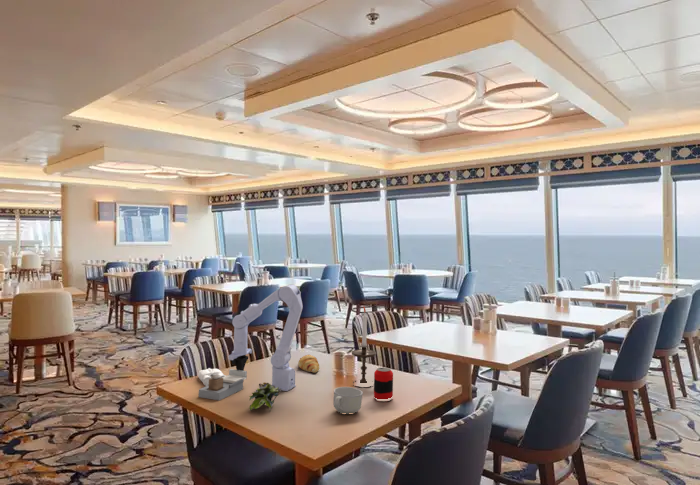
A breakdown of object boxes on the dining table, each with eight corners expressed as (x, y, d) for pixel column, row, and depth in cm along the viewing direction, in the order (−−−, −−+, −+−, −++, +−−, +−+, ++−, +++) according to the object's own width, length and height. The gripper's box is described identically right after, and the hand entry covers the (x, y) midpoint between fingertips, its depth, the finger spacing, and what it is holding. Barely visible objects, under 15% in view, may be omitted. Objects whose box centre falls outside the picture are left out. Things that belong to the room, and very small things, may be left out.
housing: (243, 389, 205) (243, 379, 205) (219, 400, 190) (220, 389, 190) (222, 385, 209) (222, 376, 209) (197, 396, 194) (198, 386, 194)
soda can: (386, 395, 200) (387, 366, 200) (396, 400, 194) (396, 370, 194) (370, 397, 197) (371, 368, 197) (379, 403, 190) (380, 372, 190)
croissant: (321, 380, 232) (329, 365, 233) (304, 373, 227) (312, 357, 229) (305, 368, 251) (312, 354, 252) (289, 361, 247) (296, 347, 248)
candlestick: (346, 383, 216) (347, 305, 216) (365, 379, 222) (366, 303, 222) (361, 389, 207) (363, 308, 207) (380, 385, 213) (382, 306, 213)
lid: (246, 378, 209) (246, 371, 209) (235, 383, 202) (235, 375, 202) (230, 376, 212) (230, 368, 212) (219, 381, 205) (219, 373, 205)
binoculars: (203, 387, 207) (203, 376, 207) (195, 378, 221) (195, 367, 221) (227, 384, 212) (228, 373, 212) (218, 375, 226) (218, 365, 226)
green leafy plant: (263, 419, 186) (276, 389, 192) (276, 422, 177) (291, 391, 183) (239, 406, 181) (254, 376, 187) (252, 409, 173) (267, 377, 178)
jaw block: (222, 395, 197) (223, 375, 197) (216, 398, 193) (217, 378, 193) (214, 393, 198) (215, 374, 198) (208, 396, 194) (208, 376, 194)
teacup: (345, 405, 188) (346, 384, 188) (368, 411, 181) (368, 390, 181) (321, 414, 177) (321, 392, 177) (344, 422, 170) (344, 399, 170)
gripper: (242, 338, 220) (242, 368, 220) (222, 344, 206) (222, 376, 206) (255, 339, 217) (255, 369, 217) (236, 345, 204) (236, 378, 204)
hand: (240, 373), depth 212 cm, fingers closed
